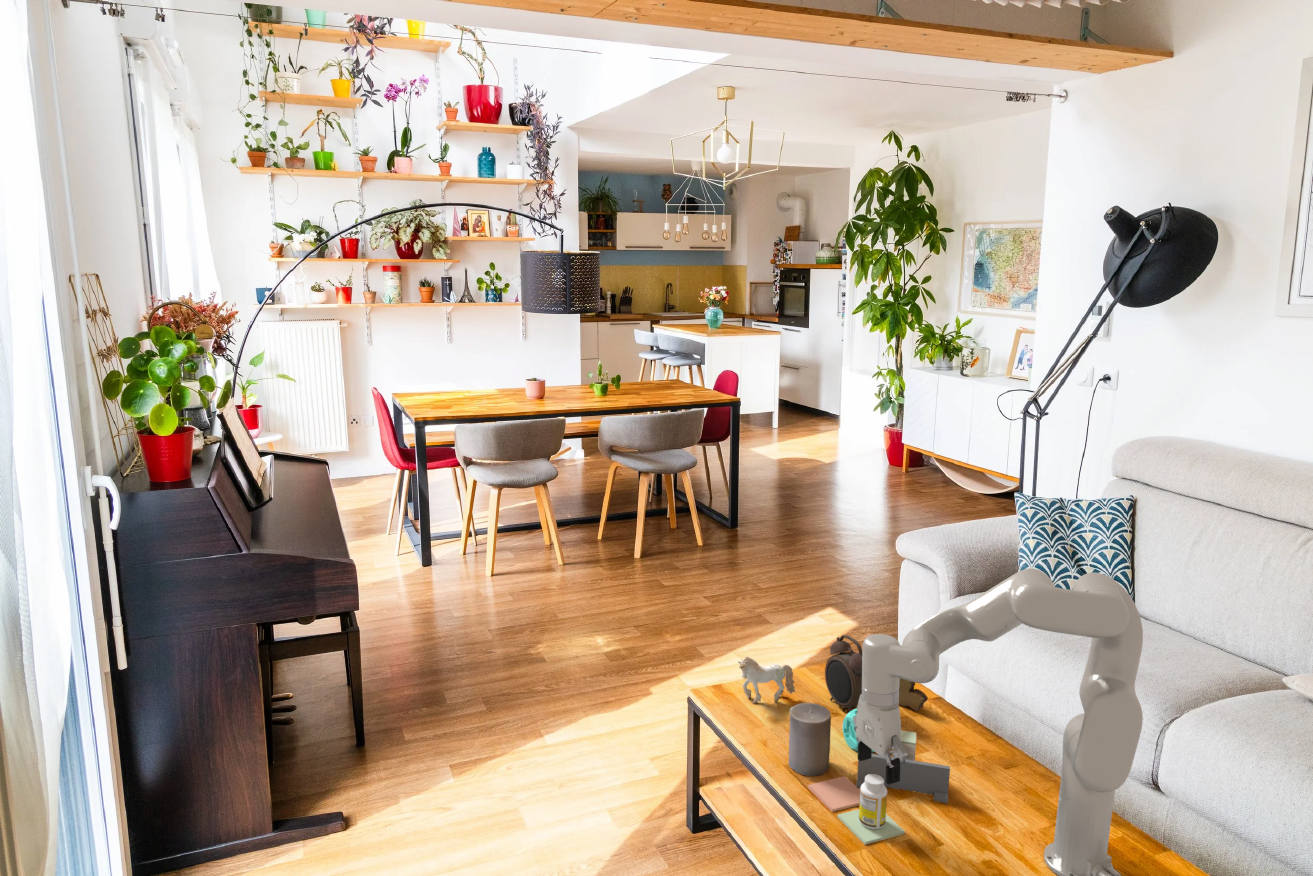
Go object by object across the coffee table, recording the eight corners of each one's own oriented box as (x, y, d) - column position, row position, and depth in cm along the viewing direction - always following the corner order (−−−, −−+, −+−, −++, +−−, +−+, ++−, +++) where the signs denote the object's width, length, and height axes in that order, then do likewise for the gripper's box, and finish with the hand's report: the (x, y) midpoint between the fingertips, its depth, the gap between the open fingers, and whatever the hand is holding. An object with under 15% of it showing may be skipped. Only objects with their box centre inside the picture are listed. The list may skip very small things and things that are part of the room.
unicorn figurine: (723, 702, 241) (724, 657, 239) (781, 688, 250) (783, 643, 248) (737, 714, 235) (739, 667, 233) (796, 699, 244) (799, 653, 242)
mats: (904, 833, 186) (904, 831, 186) (864, 844, 182) (865, 842, 182) (844, 778, 206) (844, 776, 206) (807, 787, 202) (807, 785, 202)
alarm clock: (819, 698, 245) (822, 630, 241) (840, 693, 248) (844, 626, 244) (851, 722, 232) (856, 651, 228) (873, 717, 235) (878, 646, 231)
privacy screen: (947, 788, 203) (949, 760, 201) (947, 803, 197) (950, 774, 196) (857, 773, 208) (859, 746, 207) (856, 787, 202) (858, 759, 201)
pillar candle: (830, 758, 215) (833, 700, 212) (827, 779, 205) (829, 719, 203) (790, 752, 217) (792, 695, 215) (785, 773, 208) (787, 714, 205)
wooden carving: (930, 711, 238) (933, 677, 236) (921, 717, 235) (924, 682, 233) (877, 690, 250) (879, 657, 248) (868, 695, 247) (870, 662, 245)
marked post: (913, 771, 209) (916, 732, 207) (913, 783, 205) (916, 743, 203) (891, 768, 211) (894, 729, 209) (890, 779, 206) (893, 740, 204)
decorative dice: (857, 755, 216) (859, 725, 214) (841, 739, 223) (842, 710, 222) (886, 750, 218) (888, 720, 217) (868, 735, 226) (870, 705, 224)
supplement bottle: (879, 814, 192) (882, 771, 190) (889, 830, 186) (892, 785, 184) (854, 815, 191) (857, 772, 189) (863, 831, 186) (866, 787, 184)
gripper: (841, 681, 189) (839, 754, 192) (891, 716, 174) (888, 796, 177) (870, 674, 192) (868, 747, 195) (922, 709, 176) (919, 787, 179)
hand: (878, 770), depth 186 cm, fingers open, 9 cm apart
